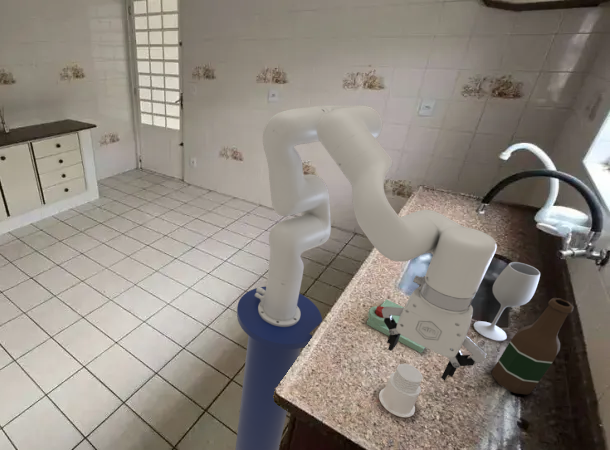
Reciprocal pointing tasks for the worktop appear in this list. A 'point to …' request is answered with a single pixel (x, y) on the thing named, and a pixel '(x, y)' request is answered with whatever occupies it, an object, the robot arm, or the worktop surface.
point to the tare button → (379, 311)
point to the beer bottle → (532, 350)
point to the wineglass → (510, 295)
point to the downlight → (402, 391)
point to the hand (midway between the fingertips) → (417, 360)
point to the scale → (381, 326)
